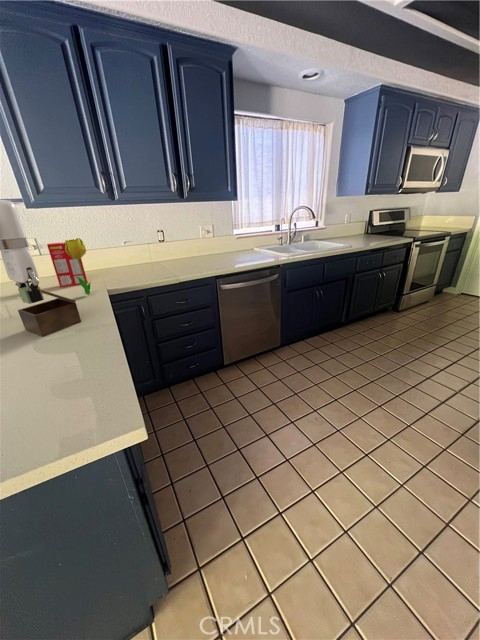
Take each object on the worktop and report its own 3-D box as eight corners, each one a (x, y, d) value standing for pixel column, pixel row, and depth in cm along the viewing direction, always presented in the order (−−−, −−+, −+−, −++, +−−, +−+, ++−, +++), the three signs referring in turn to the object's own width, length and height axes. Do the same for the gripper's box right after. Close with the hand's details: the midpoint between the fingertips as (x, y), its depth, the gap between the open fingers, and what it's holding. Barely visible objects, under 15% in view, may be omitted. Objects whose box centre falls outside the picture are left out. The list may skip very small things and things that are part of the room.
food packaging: (87, 281, 170) (76, 241, 160) (87, 283, 166) (77, 242, 156) (60, 285, 163) (47, 243, 152) (60, 287, 159) (47, 244, 148)
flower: (90, 292, 150) (76, 237, 137) (100, 294, 146) (86, 238, 134) (76, 296, 143) (59, 239, 131) (85, 299, 140) (69, 240, 127)
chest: (42, 337, 101) (34, 316, 97) (25, 330, 107) (17, 310, 103) (81, 321, 114) (75, 302, 110) (64, 316, 119) (58, 297, 115)
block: (29, 304, 86) (24, 290, 84) (22, 301, 88) (17, 288, 86) (44, 299, 89) (39, 287, 87) (37, 297, 91) (33, 285, 90)
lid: (32, 289, 95) (33, 287, 95) (15, 284, 101) (15, 283, 101) (75, 302, 110) (75, 300, 110) (57, 297, 115) (58, 296, 115)
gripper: (-14, 244, 82) (8, 299, 89) (11, 248, 74) (33, 308, 82) (14, 241, 88) (33, 293, 95) (40, 244, 80) (58, 301, 88)
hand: (33, 299), depth 88 cm, fingers closed on block, 4 cm apart
